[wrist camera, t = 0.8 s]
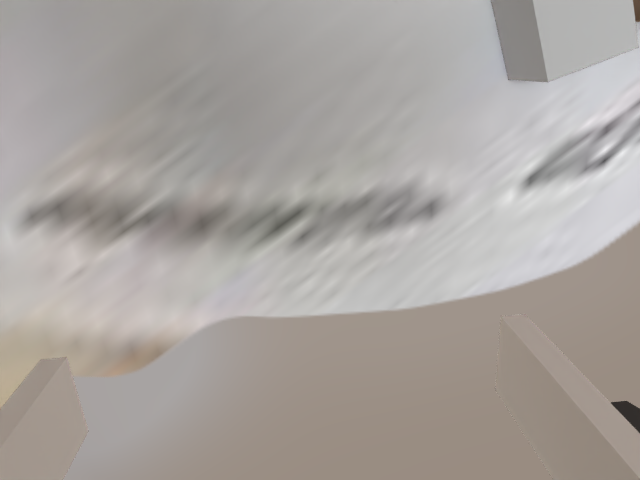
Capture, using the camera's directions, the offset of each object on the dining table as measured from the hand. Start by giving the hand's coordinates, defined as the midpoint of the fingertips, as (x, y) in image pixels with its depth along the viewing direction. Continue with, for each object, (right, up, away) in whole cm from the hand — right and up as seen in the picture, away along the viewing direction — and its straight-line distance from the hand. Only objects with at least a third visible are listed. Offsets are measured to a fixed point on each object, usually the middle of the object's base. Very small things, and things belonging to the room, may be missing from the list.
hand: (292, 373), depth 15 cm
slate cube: (+17, +20, +21) cm, 33 cm away
